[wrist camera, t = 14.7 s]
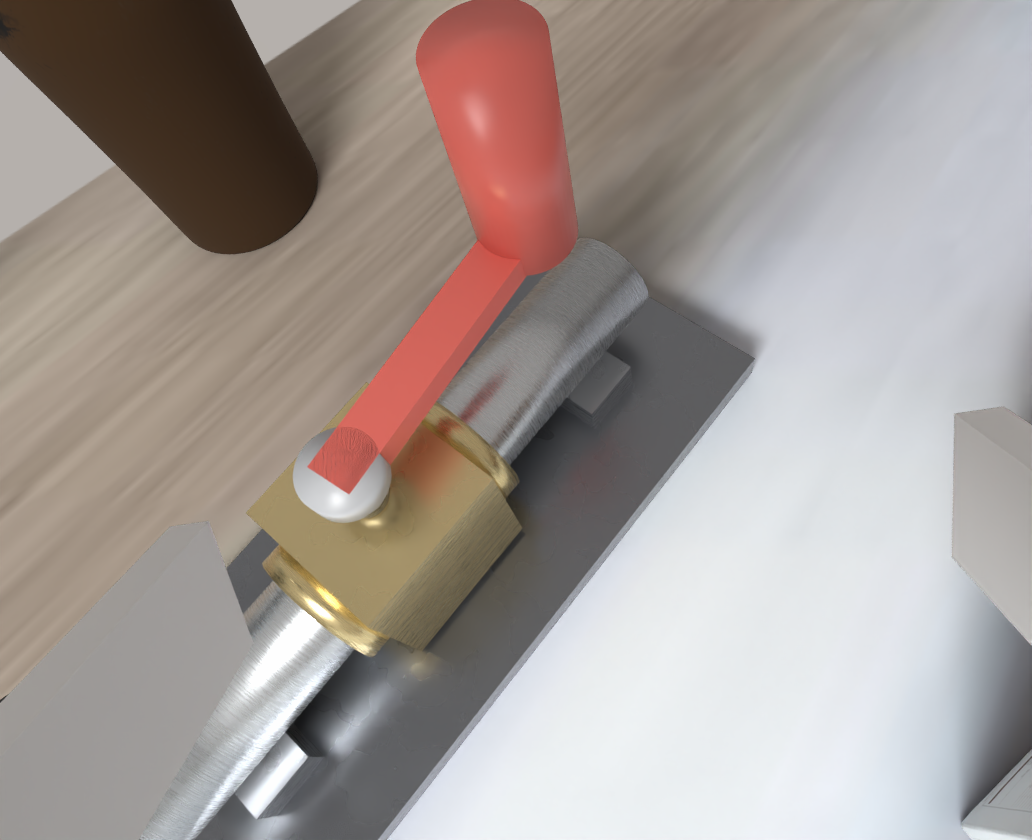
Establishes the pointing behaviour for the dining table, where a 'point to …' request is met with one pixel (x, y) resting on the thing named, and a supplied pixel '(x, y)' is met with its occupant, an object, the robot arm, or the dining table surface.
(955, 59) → the dining table surface
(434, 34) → the lever
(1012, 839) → the supplement box
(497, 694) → the valve pipe
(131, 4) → the olive oil
